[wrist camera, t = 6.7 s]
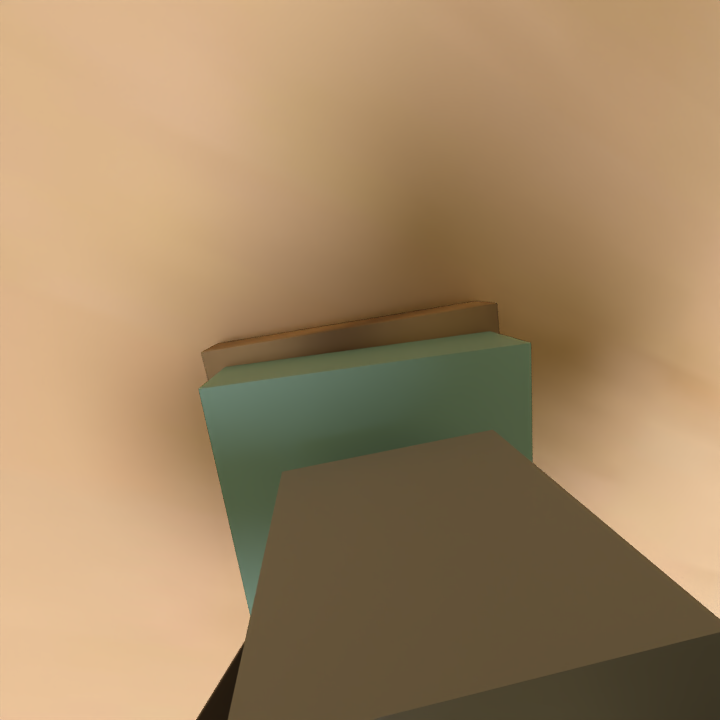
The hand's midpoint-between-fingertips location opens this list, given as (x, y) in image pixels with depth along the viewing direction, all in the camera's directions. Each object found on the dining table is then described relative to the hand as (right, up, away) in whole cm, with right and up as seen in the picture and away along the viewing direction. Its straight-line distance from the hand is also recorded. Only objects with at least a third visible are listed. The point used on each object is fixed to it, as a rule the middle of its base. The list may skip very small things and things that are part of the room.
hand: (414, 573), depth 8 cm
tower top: (-1, +1, +5) cm, 5 cm away
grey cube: (0, 0, +1) cm, 1 cm away
